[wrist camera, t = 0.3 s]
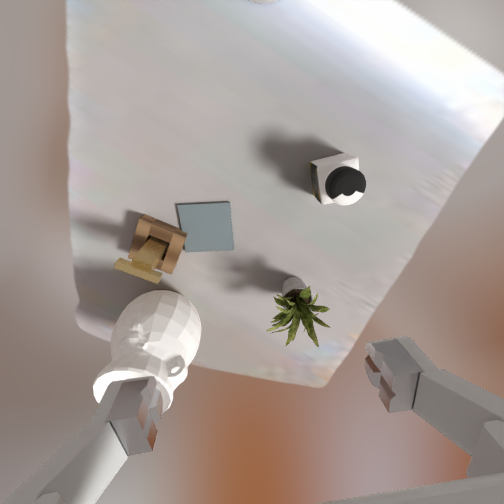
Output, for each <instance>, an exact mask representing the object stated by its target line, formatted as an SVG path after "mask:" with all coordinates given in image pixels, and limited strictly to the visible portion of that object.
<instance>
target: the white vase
mask: <svg viewBox="0 0 504 504" xmlns="http://www.w3.org/2000/svg"><path fill="white" fill-rule="evenodd" d="M201 329H202V328H201V322H200V317H199V314H198V312H197V310H196V309H195V307H194V306H193V305H192V304H191V303H190V301H189V300H188V299H186V298H185V297H183V296H182V295H181V294H179V293H176V292H172V291H167V290H155V291H150V292H147V293H144V294H142V295H140V296H139V297H137V298H136V299H134V300H133V301H132V302H130V303H129V304H128V305H127V306H126V308H125V309H124V310H123V312H122V313H121V315H120V317H119V318H118V320H117V322H116V324H115V327H114V329H113V332H112V338H111V354H112V361H111V362H110V363H109V364H108V365H107V366H106V367H105V368H104V369H103V370H102V371H101V372H100V373H99V374H98V375H97V377H96V379H95V381H94V383H93V390H94V396H95V398H96V400H97V402H98V403H100V401H101V399H102V397H103V395H104V393H105V391H106V389H107V387H108V385H109V384H110V383H111V382H112V381H118V380H125V379H132V378H140V377H147V376H154V377H155V379H156V381H157V384H156V388H157V389H158V390H160V392H161V394H162V399H163V409H162V413H163V412H165V411H166V410H167V409H168V408H169V407H170V405H171V403H172V400H173V391H174V389H175V388H176V387H177V386H178V385H179V384H180V383H182V382H183V381H184V380H185V378H186V377H187V373H188V369H187V367H188V366H189V364H190V363H191V361H192V360H193V358H194V357H195V354H196V352H197V350H198V347H199V342H200V336H201Z"/></svg>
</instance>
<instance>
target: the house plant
mask: <svg viewBox="0 0 504 504" xmlns="http://www.w3.org/2000/svg"><path fill="white" fill-rule="evenodd" d="M277 296H278V297H279V298H280V299H277V298H275V297H274V298H275V301H276V303H277V304H279V305H281V306H283V307H284V308H285V309H286V310H285V309H282V308H280V307H277V306H276V307H277V308H278V309H279V310H280V311H282V312H281V313H279V314H278V315H277V316H276V317H275V318H273V319H275V320H274V321H272V322H277V321H279V320H281V321H279V322H278V323H277V324H274V325H272V326H274V327H272V328H270V329H268V330H267V331H271V330H274V329H277V328H279V327H280V326H286V325H287V324H288V323H289V322H290V321H291V320H292V318H293V320H292V324H291V325H290V326H289V327H287V328H286V329H288V328H290V329H289V331H288V339H287V342H286V346H287V345H288V344H289V343H290V342H291V340H292V339H293V340H294V337H295V335H296V331H297V329H298V326H299V323H300V318H301V320H302V323H303V325H304V327H305V329H306V330H307V333H308V335H309V337H310V338H311V339H312V340H313V341H314V343H315V345H316V346H318V347H319V345H318V340H317V337H316V333H315V331H314V327H313V320H314V321H315V322H317V323H318V324H320V325H322V326H325V327H329V326H328V325H327V324H325V323H324V322H323V321H321V320H320V319H318V318H317V317H316V315H317V314H316V315H314V314H313V313H312V312H311V311H310V310H312V309H313V310H312V311H317V312H326V311H328V310H329V308H328V307H325V306H315V305H313V304H314V303H315V302H316V299H317V297H318V294H317V295H316V297H315V298H314V300H313V297H312V294H311V291H310V286H309V287H308V288H307V287H306V285H305V284H304V282H303V281H302V280H301V279H300V278H298V277H290V278H288V279H286V280H285V281H284V283H283V291H282V297H281V296H280V295H277ZM309 309H310V310H309ZM290 312H291V313H290ZM312 319H313V320H312ZM286 329H283V330H279V331H275V332H280V331H284V330H286ZM304 331H305V330H304ZM272 333H274V332H272ZM292 342H293V341H292Z"/></svg>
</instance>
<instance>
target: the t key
mask: <svg viewBox="0 0 504 504" xmlns="http://www.w3.org/2000/svg"><path fill="white" fill-rule="evenodd" d="M168 244H169V242H166V241H164V240H161V239H159V238H156V237H154V236H151V238H150V239H149V240H148V241H147V242H146V243H145V244H144V246H143V247H142V248H141V249H140V250H139V251H138V253H137V254H136V255H135V256H134V257H133V260H132V262H130V261H128V260H125V259H122V258H119V259H118V260H117V261H116V263H115V267H114V268H115V269H118V270H121V271H123V272H126V273H129V274H132V275H134V276H137V277H140V278H143V279H145V280H148V281H151V282H154V283H156V284H158V283H159V281H160V279H161V276H162V274H163V273H160V272H157V271H155V270H154V269H155V267H156V266H157V264H158V263H159V261H160V260H161V258H162V257H163V255H164V254H165V252H166V250H167V247H168Z"/></svg>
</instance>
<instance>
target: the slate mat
mask: <svg viewBox="0 0 504 504" xmlns="http://www.w3.org/2000/svg"><path fill="white" fill-rule="evenodd" d="M177 207H178V212H179V218H180V223H181V229H182V231H183V232H186V233H188V235H187V237H186V240H185V243H184V245H185V251H186V252H201V251H222V250H234V244H233V233H232V222H231V211H230V202H219V203H199V204H179V205H177Z"/></svg>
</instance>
